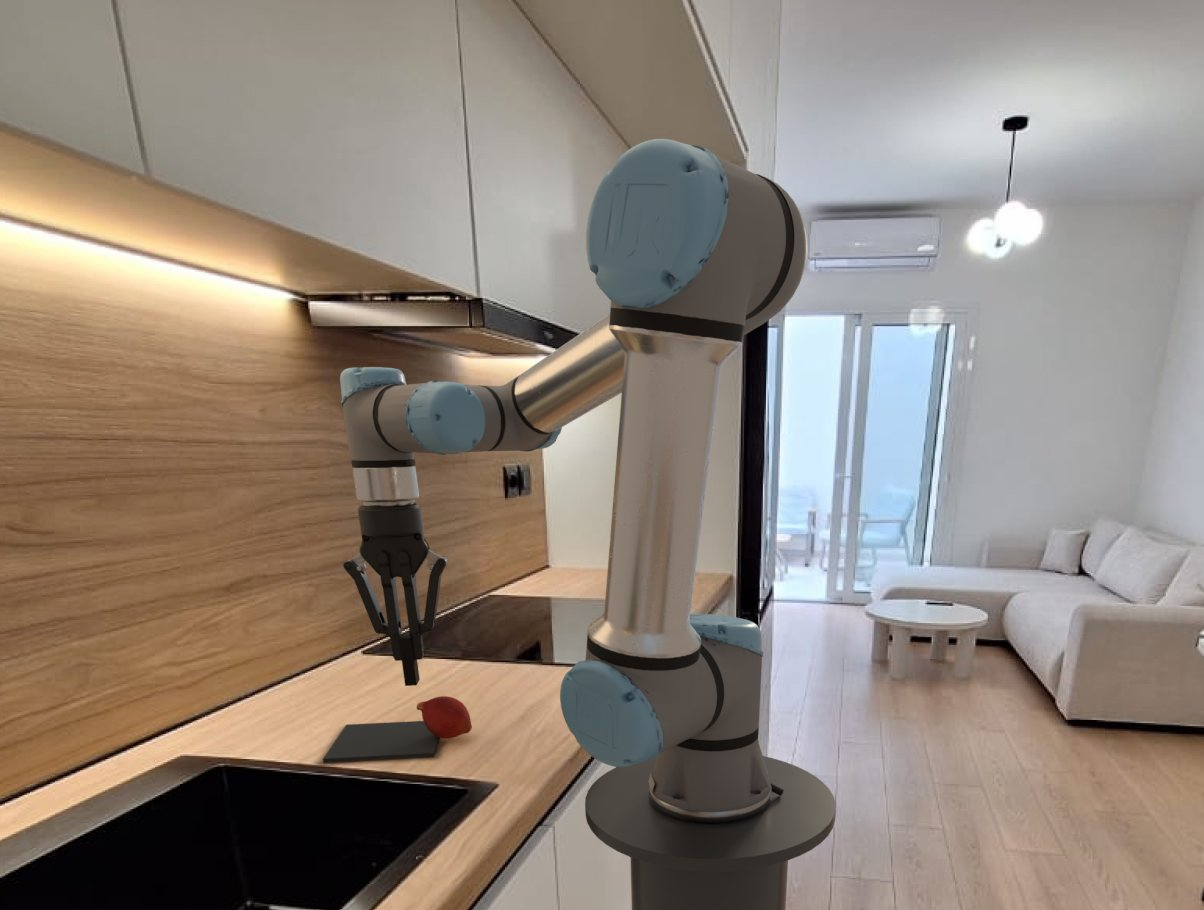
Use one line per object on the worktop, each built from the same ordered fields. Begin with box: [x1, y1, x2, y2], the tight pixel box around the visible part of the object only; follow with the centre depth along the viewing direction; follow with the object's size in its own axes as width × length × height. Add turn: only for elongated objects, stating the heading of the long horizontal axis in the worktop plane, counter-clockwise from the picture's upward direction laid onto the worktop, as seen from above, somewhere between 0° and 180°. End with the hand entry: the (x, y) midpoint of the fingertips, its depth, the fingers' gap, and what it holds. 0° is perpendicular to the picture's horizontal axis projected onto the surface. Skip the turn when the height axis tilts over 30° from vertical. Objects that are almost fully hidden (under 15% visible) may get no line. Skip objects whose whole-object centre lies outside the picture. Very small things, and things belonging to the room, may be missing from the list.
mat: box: [322, 720, 441, 764], centre depth 112 cm, size 14×13×1 cm
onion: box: [416, 695, 473, 740], centre depth 112 cm, size 6×6×8 cm
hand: (412, 682), depth 110 cm, fingers closed
